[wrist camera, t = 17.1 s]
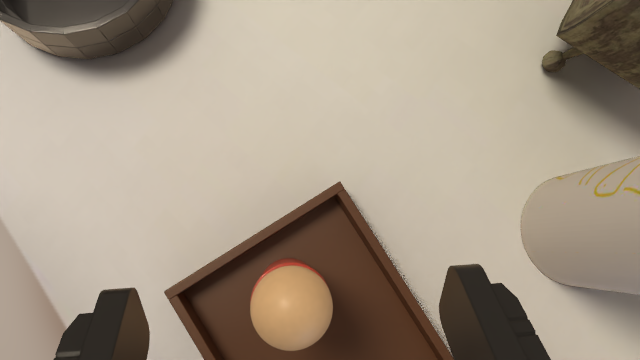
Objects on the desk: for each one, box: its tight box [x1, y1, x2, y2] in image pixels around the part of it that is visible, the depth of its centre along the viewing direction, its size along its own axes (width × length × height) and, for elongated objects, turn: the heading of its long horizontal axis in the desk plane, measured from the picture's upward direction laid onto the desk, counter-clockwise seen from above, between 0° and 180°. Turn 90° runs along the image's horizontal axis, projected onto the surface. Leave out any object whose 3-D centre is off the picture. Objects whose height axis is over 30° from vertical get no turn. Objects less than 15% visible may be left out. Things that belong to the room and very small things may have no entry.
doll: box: [250, 258, 333, 351], centre depth 26 cm, size 4×4×12 cm
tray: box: [164, 182, 454, 360], centre depth 31 cm, size 17×13×3 cm
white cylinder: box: [521, 156, 640, 295], centre depth 29 cm, size 8×8×12 cm
